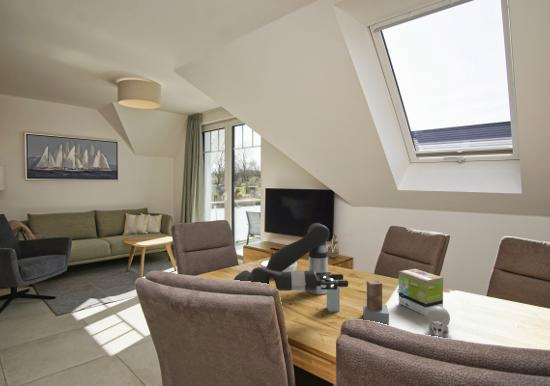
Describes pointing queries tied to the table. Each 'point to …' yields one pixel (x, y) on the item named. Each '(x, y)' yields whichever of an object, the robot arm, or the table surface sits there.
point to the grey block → (376, 314)
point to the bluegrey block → (333, 300)
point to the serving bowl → (289, 269)
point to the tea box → (420, 290)
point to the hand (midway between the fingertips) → (345, 280)
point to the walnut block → (374, 295)
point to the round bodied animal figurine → (438, 320)
